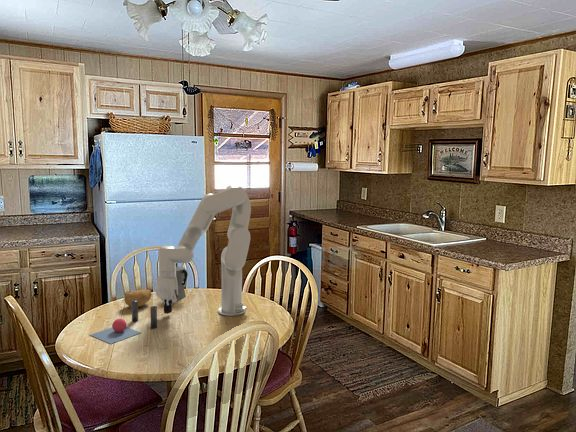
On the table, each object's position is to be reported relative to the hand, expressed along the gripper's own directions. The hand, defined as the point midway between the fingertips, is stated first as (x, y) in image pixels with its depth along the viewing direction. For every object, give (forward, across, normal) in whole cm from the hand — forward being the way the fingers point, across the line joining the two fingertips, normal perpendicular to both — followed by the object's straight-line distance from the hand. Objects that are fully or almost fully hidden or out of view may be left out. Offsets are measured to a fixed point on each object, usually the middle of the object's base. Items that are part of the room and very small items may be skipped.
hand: (167, 312), depth 202 cm
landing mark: (+2, 0, -27) cm, 27 cm away
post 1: (+2, -6, -13) cm, 15 cm away
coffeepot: (+2, -17, +21) cm, 27 cm away
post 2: (+2, +6, -13) cm, 15 cm away
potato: (+2, -21, 0) cm, 21 cm away
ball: (-1, -1, -25) cm, 25 cm away
